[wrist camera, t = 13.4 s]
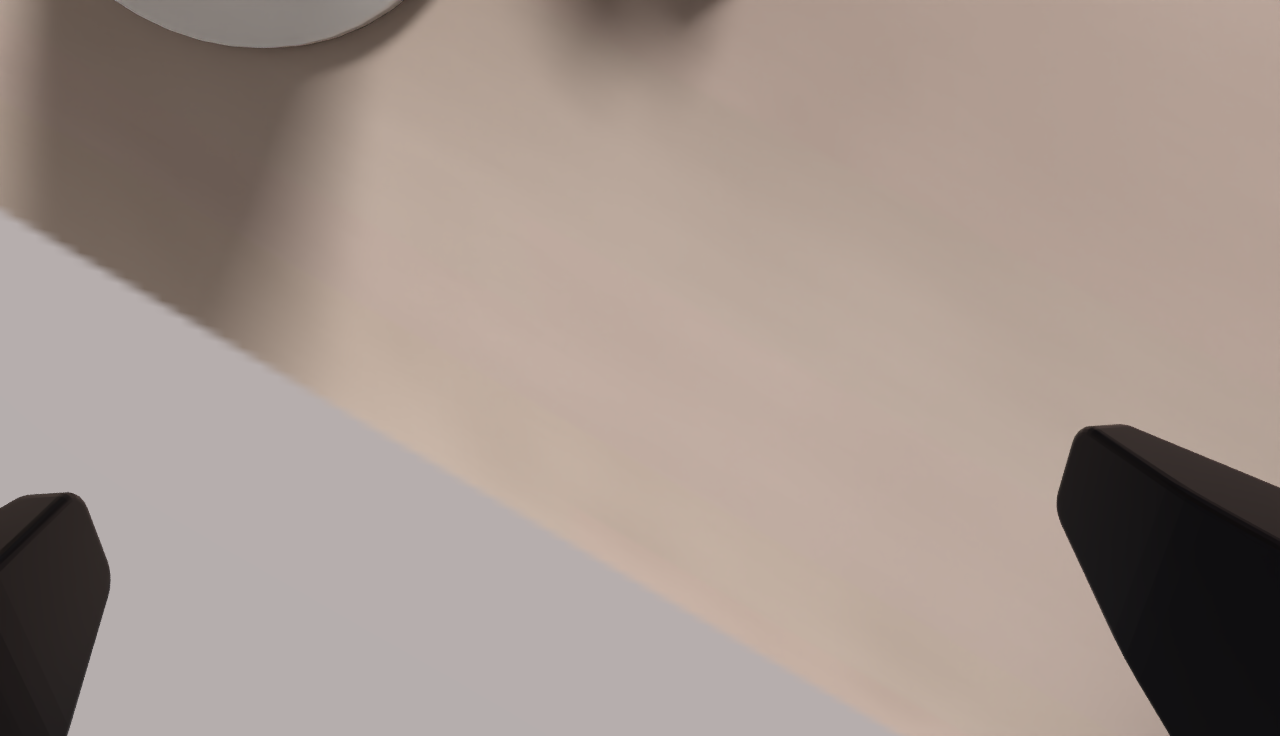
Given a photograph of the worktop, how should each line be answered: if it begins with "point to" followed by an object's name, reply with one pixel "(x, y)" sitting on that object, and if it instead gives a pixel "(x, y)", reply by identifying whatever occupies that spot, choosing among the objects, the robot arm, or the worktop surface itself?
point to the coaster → (261, 19)
